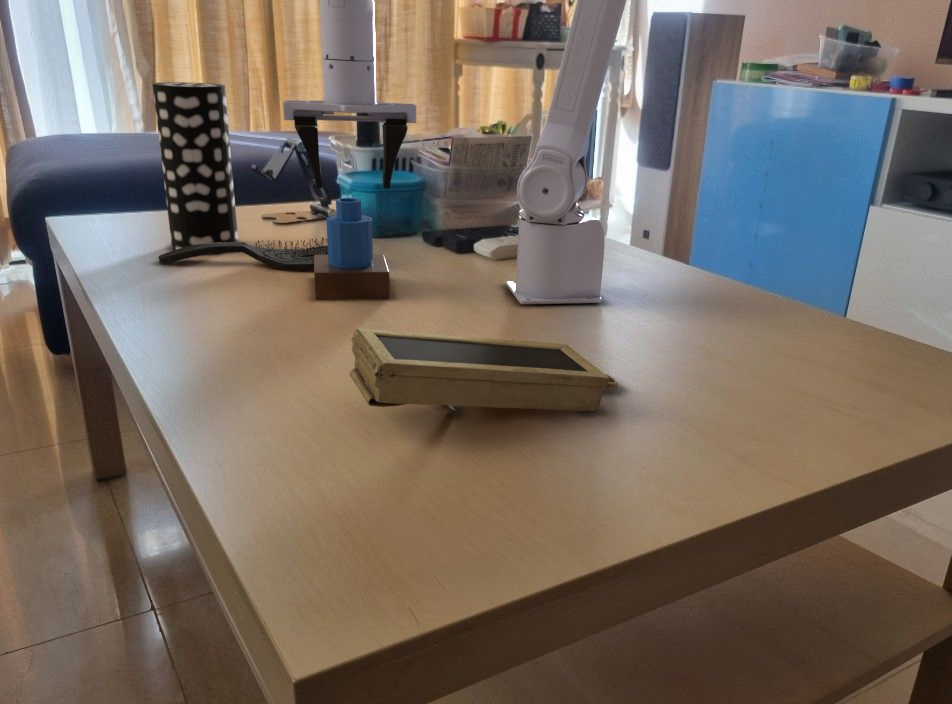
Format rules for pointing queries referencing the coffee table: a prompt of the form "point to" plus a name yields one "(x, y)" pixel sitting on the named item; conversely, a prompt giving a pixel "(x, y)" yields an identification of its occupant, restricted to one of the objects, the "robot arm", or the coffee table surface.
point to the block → (351, 280)
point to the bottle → (349, 235)
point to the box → (473, 372)
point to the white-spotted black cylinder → (196, 162)
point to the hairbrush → (254, 254)
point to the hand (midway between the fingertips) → (353, 187)
